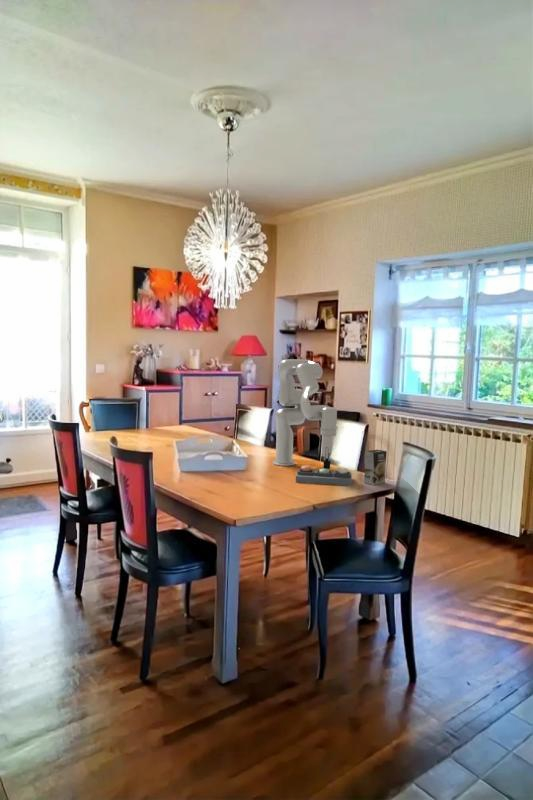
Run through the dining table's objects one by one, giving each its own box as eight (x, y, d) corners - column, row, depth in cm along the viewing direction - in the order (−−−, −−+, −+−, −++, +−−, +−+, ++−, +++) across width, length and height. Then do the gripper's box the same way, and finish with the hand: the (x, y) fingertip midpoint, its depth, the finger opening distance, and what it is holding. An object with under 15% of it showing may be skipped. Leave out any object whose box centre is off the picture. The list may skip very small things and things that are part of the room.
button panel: (298, 475, 274) (298, 467, 274) (351, 478, 270) (351, 470, 270) (295, 482, 260) (295, 473, 260) (351, 485, 256) (351, 476, 256)
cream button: (337, 471, 266) (337, 467, 266) (347, 471, 266) (347, 468, 266) (337, 473, 262) (337, 469, 261) (347, 474, 261) (347, 470, 261)
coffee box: (373, 485, 258) (375, 452, 257) (363, 482, 263) (365, 450, 262) (385, 482, 264) (387, 450, 263) (375, 480, 269) (376, 448, 267)
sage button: (319, 472, 268) (319, 468, 268) (329, 472, 267) (329, 468, 267) (318, 474, 263) (319, 470, 263) (329, 475, 262) (329, 471, 262)
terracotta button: (301, 469, 269) (301, 465, 269) (311, 469, 268) (311, 465, 268) (300, 471, 264) (300, 467, 264) (310, 472, 263) (311, 468, 263)
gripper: (321, 429, 271) (320, 464, 273) (319, 434, 256) (318, 471, 258) (336, 430, 270) (334, 465, 272) (335, 435, 255) (333, 472, 257)
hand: (326, 468), depth 265 cm, fingers closed
